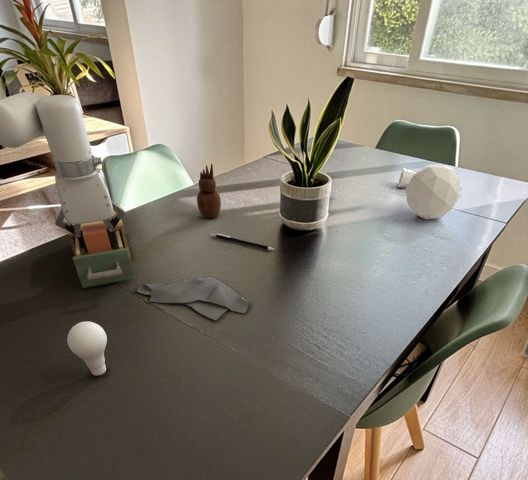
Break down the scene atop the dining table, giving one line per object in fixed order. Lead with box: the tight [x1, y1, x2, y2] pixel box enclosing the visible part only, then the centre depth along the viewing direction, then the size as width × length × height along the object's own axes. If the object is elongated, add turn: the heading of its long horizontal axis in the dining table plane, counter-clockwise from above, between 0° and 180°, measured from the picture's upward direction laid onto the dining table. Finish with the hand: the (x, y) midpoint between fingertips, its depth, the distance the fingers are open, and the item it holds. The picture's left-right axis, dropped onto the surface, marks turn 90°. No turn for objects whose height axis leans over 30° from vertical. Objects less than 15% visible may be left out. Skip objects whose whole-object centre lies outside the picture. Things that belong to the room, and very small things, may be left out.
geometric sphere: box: [405, 162, 462, 220], centre depth 120 cm, size 14×15×15 cm
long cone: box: [397, 168, 418, 188], centre depth 139 cm, size 6×6×19 cm
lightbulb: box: [66, 321, 108, 377], centre depth 73 cm, size 6×6×11 cm
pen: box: [211, 233, 275, 251], centre depth 112 cm, size 1×19×1 cm, turn 62°
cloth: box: [136, 276, 250, 321], centre depth 94 cm, size 26×14×2 cm, turn 63°
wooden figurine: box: [196, 163, 222, 219], centre depth 122 cm, size 7×6×15 cm
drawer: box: [72, 230, 135, 289], centre depth 98 cm, size 18×11×7 cm, turn 20°
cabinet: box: [66, 202, 133, 261], centre depth 108 cm, size 15×13×9 cm
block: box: [82, 223, 112, 254], centre depth 97 cm, size 5×5×5 cm
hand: (99, 247), depth 98 cm, fingers closed on block, 5 cm apart
